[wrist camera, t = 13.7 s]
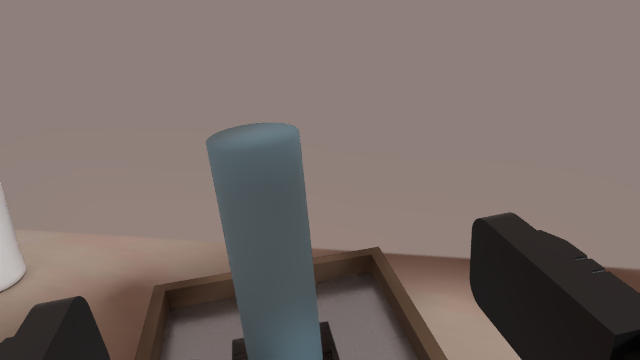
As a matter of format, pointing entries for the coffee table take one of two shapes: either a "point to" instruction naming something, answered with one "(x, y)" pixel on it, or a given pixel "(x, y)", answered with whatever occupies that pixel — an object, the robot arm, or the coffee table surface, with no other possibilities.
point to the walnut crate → (323, 270)
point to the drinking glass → (9, 249)
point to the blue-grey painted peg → (268, 238)
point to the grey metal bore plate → (334, 320)
